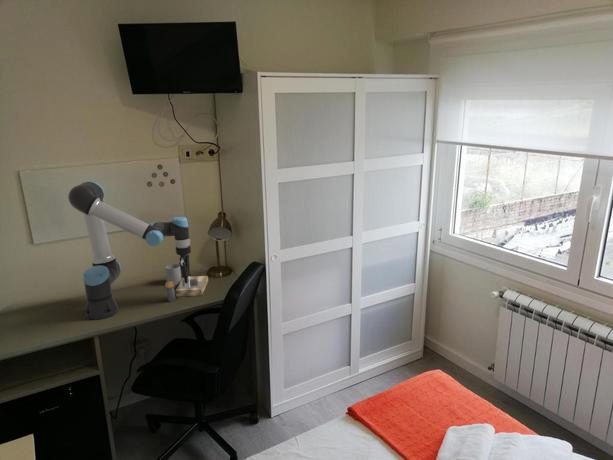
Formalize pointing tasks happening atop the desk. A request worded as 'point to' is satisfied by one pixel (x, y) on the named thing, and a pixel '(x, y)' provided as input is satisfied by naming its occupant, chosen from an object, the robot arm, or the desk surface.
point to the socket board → (193, 290)
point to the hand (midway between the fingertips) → (187, 287)
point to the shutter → (192, 284)
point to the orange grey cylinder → (170, 291)
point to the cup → (173, 273)
